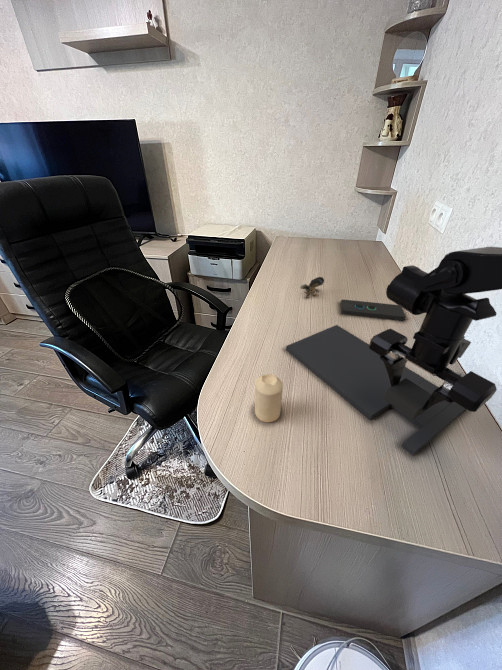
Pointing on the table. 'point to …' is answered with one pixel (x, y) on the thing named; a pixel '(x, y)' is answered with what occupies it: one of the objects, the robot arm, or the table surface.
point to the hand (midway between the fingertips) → (409, 398)
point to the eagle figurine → (312, 286)
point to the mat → (368, 381)
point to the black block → (407, 398)
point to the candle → (268, 397)
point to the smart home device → (372, 310)
